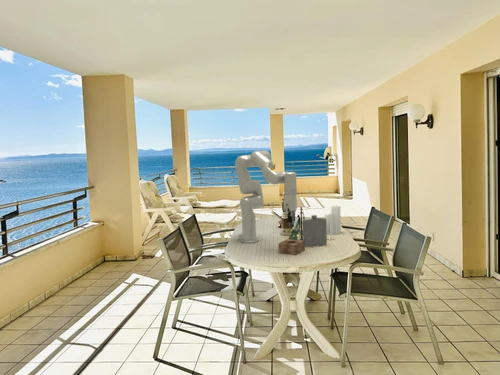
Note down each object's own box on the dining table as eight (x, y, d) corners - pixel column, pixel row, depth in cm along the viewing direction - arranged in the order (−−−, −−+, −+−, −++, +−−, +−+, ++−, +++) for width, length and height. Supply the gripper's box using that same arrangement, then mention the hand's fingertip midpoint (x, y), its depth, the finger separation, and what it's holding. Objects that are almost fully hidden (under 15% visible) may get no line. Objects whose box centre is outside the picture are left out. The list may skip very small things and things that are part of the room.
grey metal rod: (288, 227, 242) (287, 207, 241) (290, 226, 245) (289, 207, 244) (292, 227, 241) (292, 207, 240) (295, 226, 243) (294, 207, 242)
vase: (339, 232, 293) (339, 206, 291) (341, 234, 286) (341, 207, 284) (324, 233, 293) (323, 206, 291) (326, 235, 286) (325, 208, 284)
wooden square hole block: (278, 252, 243) (278, 243, 242) (287, 248, 253) (287, 239, 252) (296, 255, 236) (296, 245, 236) (304, 250, 246) (304, 240, 246)
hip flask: (304, 247, 254) (303, 216, 252) (302, 245, 258) (301, 215, 256) (327, 245, 257) (327, 215, 255) (325, 243, 261) (324, 214, 259)
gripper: (290, 190, 250) (291, 219, 251) (278, 193, 236) (279, 223, 238) (301, 191, 246) (302, 220, 248) (290, 193, 232) (291, 224, 234)
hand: (291, 221), depth 243 cm, fingers closed on grey metal rod, 3 cm apart
